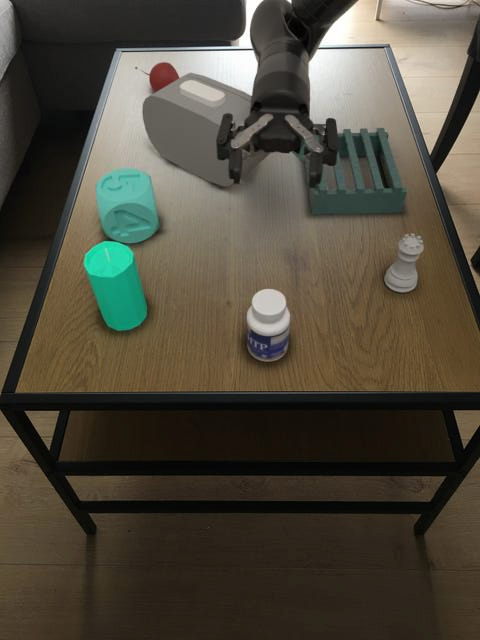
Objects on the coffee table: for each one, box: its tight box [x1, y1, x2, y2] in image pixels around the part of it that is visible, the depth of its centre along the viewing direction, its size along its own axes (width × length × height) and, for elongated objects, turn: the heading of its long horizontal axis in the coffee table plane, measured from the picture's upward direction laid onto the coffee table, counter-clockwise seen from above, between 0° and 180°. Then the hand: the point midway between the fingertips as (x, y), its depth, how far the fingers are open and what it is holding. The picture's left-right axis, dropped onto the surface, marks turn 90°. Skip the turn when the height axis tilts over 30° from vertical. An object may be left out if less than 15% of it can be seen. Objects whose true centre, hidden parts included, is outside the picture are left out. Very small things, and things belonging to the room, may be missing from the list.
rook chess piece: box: [383, 233, 425, 294], centre depth 72 cm, size 4×4×8 cm
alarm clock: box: [141, 72, 271, 187], centre depth 88 cm, size 21×10×13 cm, turn 51°
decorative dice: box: [95, 167, 160, 244], centre depth 81 cm, size 8×8×8 cm
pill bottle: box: [246, 288, 291, 363], centre depth 65 cm, size 5×5×9 cm
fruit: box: [134, 61, 180, 93], centre depth 107 cm, size 6×6×8 cm
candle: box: [83, 240, 148, 332], centre depth 68 cm, size 6×6×12 cm
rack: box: [304, 127, 408, 216], centre depth 87 cm, size 14×16×5 cm
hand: (274, 180), depth 60 cm, fingers open, 8 cm apart
